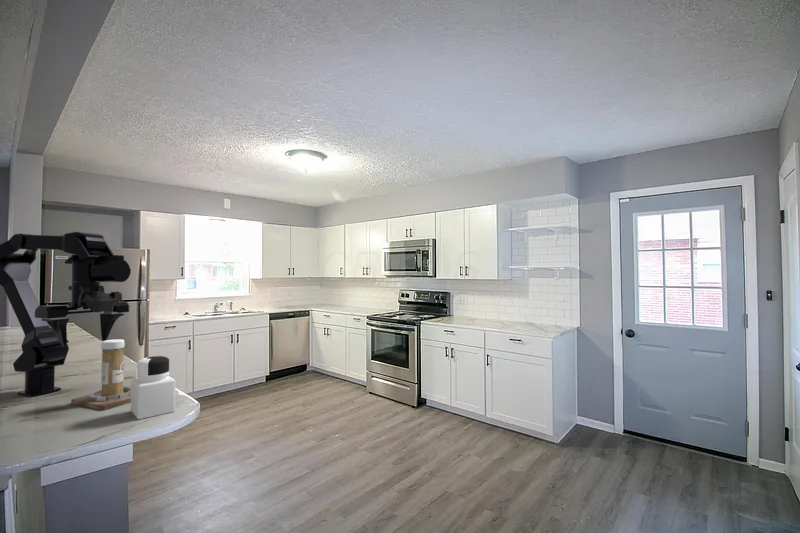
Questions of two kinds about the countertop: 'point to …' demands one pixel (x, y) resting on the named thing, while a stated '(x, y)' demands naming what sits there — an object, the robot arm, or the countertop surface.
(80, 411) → the countertop surface
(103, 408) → the display stand
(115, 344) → the sprinkles bottle
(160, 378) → the medicine bottle
